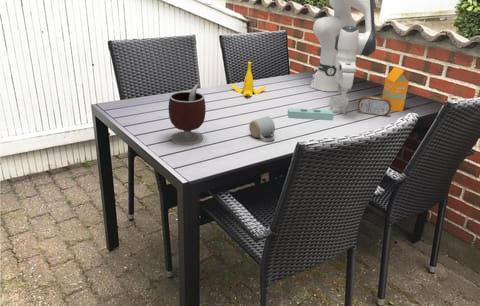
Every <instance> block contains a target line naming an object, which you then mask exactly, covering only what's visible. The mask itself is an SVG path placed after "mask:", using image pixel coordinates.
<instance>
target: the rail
mask: <svg viewBox="0 0 480 306" xmlns="http://www.w3.org/2000/svg"><path fill="white" fill-rule="evenodd" d="M287 116H288V117H287V118H289V119H302V120H322V121H323V120H324V121H325V120H326V121H333V120H334V111H333V112H332V110H330V109H318V108H317V109H315V108H314V109H312V108H299V107H298V108H297V107H294V108H293V107H288V108H287Z"/></svg>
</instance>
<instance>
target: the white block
mask: <svg viewBox="0 0 480 306" xmlns="http://www.w3.org/2000/svg"><path fill="white" fill-rule="evenodd" d="M348 106H349V97H342V96H330V101H329V110H332V112H333V113H334V108H335V107H339V108H342V110H341V114H344V115H346V114H347V108H348Z"/></svg>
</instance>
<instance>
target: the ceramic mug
mask: <svg viewBox="0 0 480 306" xmlns="http://www.w3.org/2000/svg"><path fill="white" fill-rule="evenodd" d="M248 128H249V129H248V130H249V133H250V135H251V136H252V137H253V138H257V139H258V138H260V139H261V140H262V141H263V142H267V143H269V142H271V143H272V142H273V141H274V139H275V136H276V135H275V131H276V125H275V121H274V120H273V119H272V117H270V116H268V115H267V116H264V117H263V116H262V117H260V118H256V119H254V120H251V122H249V125H248ZM268 136H272V138H266V137H268Z"/></svg>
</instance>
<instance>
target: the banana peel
mask: <svg viewBox="0 0 480 306" xmlns="http://www.w3.org/2000/svg"><path fill="white" fill-rule="evenodd" d="M230 86H231V87H232V88H233V89H234V91H235V92H236V93H239V94H242V96H243V97H253V95H254V94H255V95H256V94H260V93H262V92H263V91H264V90H265V89H266V88H267V85H265V84H264V85H263V86H262V87H261V88H258V89H254V77H253V73H252V62H251V61H247V71H246V74H245V77H244V81H243V87H242V88H239V87H238V86H236V85H234V84H233V83H231V85H230Z"/></svg>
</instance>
